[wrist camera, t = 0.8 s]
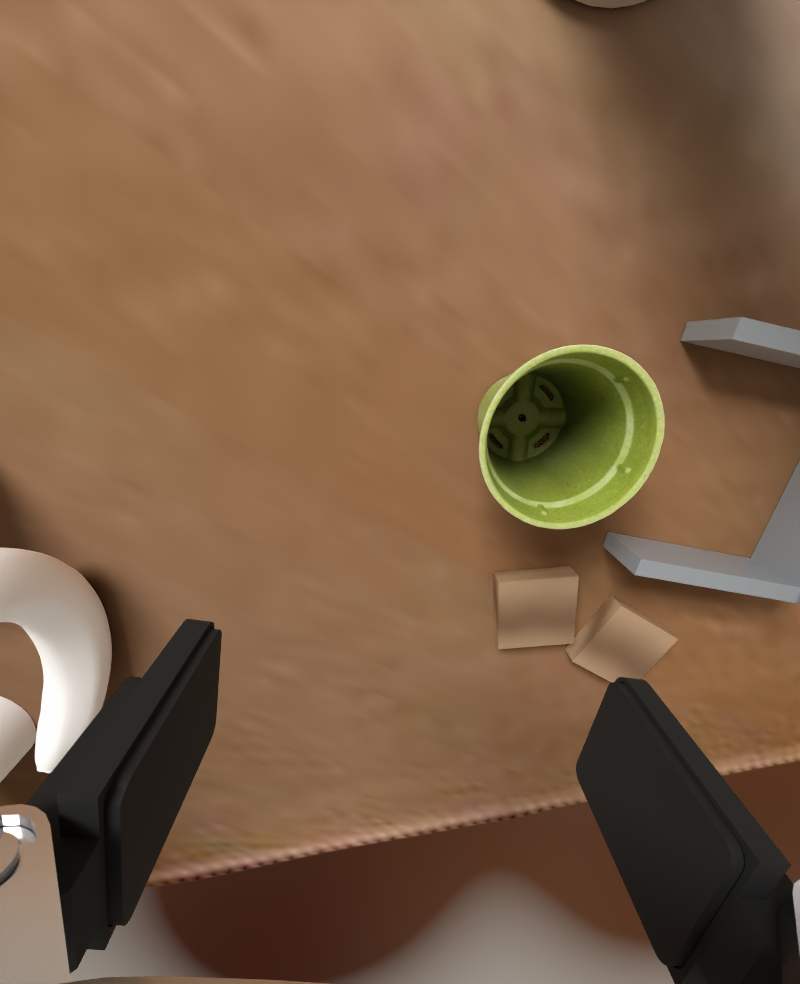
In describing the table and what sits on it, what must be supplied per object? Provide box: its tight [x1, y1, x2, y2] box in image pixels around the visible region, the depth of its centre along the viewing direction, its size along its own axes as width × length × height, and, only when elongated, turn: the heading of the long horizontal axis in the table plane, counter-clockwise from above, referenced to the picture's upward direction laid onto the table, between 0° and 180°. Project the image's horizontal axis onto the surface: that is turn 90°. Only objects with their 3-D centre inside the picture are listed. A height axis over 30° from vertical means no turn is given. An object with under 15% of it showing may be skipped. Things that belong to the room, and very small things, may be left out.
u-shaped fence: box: [603, 317, 800, 604], centre depth 29 cm, size 16×13×4 cm
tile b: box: [565, 595, 678, 683], centre depth 35 cm, size 6×6×2 cm
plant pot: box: [477, 345, 664, 529], centre depth 26 cm, size 9×9×9 cm
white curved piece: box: [0, 548, 112, 773], centre depth 27 cm, size 5×19×15 cm, turn 179°
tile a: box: [494, 566, 579, 649], centre depth 34 cm, size 6×6×2 cm
